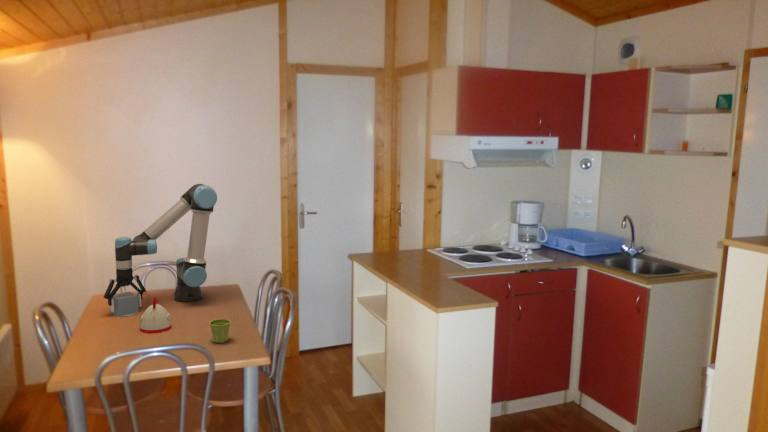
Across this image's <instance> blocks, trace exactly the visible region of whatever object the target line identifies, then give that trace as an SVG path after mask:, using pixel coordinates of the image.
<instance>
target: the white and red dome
mask: <svg viewBox="0 0 768 432" xmlns="http://www.w3.org/2000/svg"><path fill="white" fill-rule="evenodd" d="M157 299H158V298H157V297H153V299H152V304H151V305H149V306H148V307H147V308H146V309H145V310H144V312H143V313H142V315H141V316H140V321H139V331H140V333H143V334H159V333H165V332H167V331H169V330H171V329H172V318H171V315H170V314H171V313H170V312H168V310H167V309H166V308H165V307H164V306H162V305H161V304H159V303H158V300H157Z"/></svg>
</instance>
